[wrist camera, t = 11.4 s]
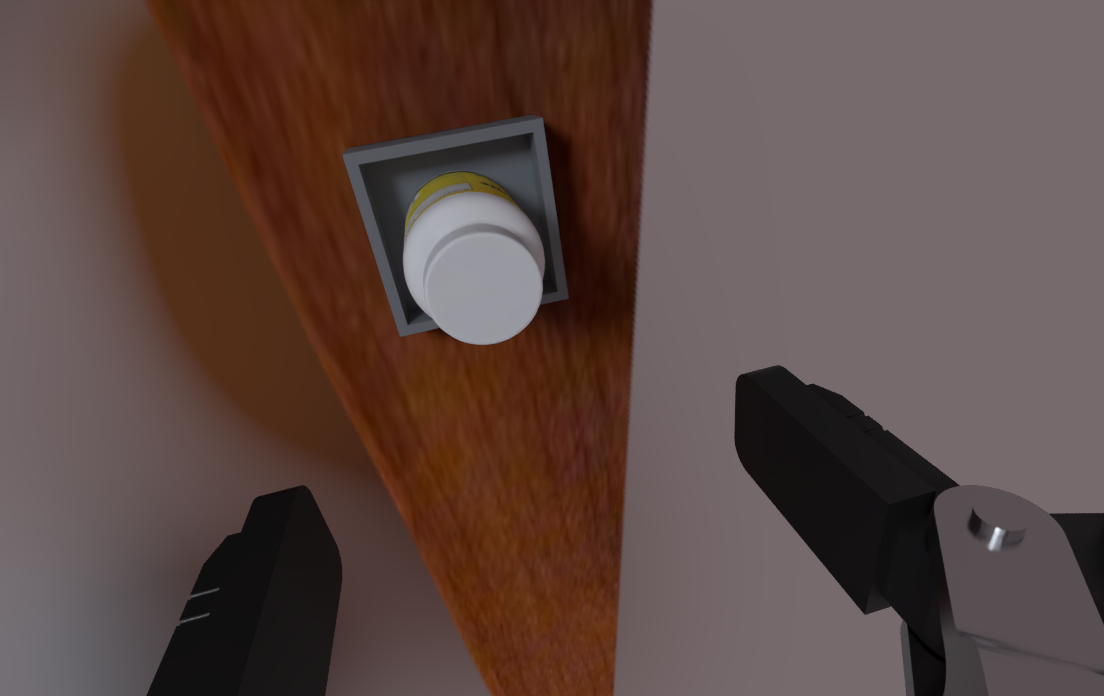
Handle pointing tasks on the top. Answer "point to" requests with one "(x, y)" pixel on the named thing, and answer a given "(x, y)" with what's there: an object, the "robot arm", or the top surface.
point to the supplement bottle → (472, 258)
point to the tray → (408, 163)
